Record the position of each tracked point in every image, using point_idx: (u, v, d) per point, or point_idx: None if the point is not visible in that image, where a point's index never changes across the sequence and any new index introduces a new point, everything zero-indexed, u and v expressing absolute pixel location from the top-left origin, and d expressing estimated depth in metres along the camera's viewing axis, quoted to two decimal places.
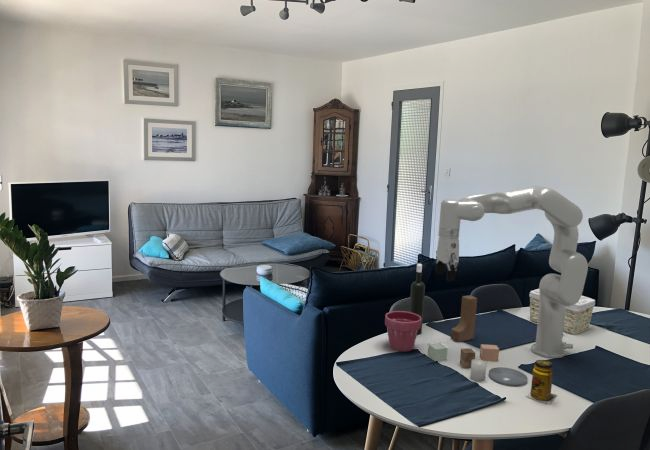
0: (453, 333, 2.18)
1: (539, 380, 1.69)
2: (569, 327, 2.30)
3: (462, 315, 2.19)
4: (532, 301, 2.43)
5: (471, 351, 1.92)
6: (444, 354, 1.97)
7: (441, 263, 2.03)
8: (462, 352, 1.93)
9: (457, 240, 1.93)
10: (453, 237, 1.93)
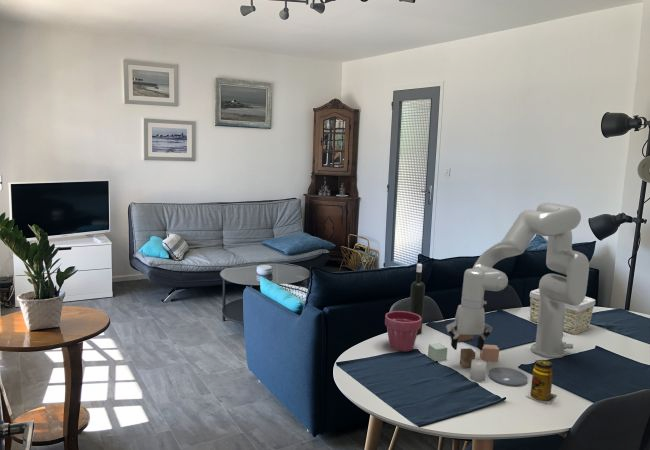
0: None
1: (539, 380, 1.69)
2: (570, 327, 2.31)
3: None
4: (532, 301, 2.43)
5: (471, 351, 1.92)
6: (444, 354, 1.97)
7: None
8: (462, 352, 1.93)
9: None
10: None
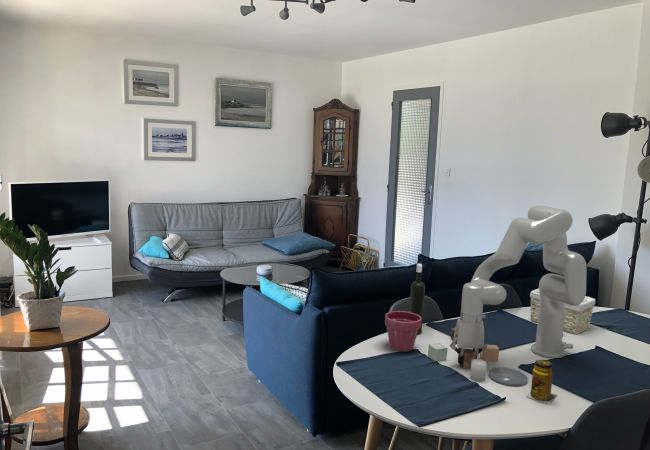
0: (453, 333, 2.18)
1: (539, 380, 1.69)
2: (571, 327, 2.31)
3: None
4: (533, 301, 2.43)
5: (471, 351, 1.92)
6: (444, 354, 1.97)
7: None
8: None
9: None
10: None
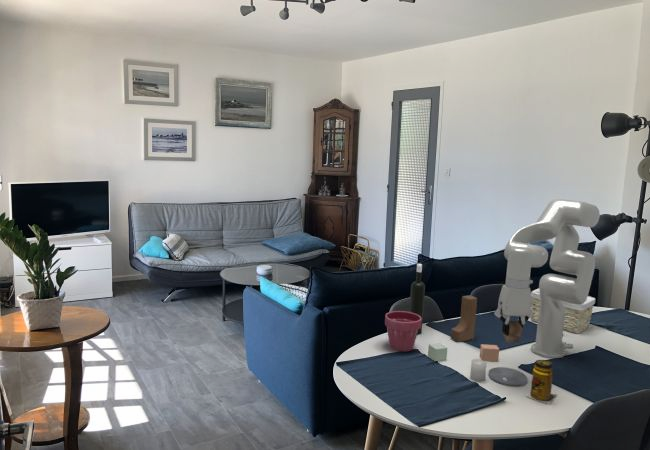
0: (453, 333, 2.18)
1: (539, 380, 1.69)
2: (573, 326, 2.32)
3: (462, 315, 2.19)
4: (534, 301, 2.43)
5: (518, 326, 1.80)
6: (444, 354, 1.97)
7: None
8: None
9: None
10: None
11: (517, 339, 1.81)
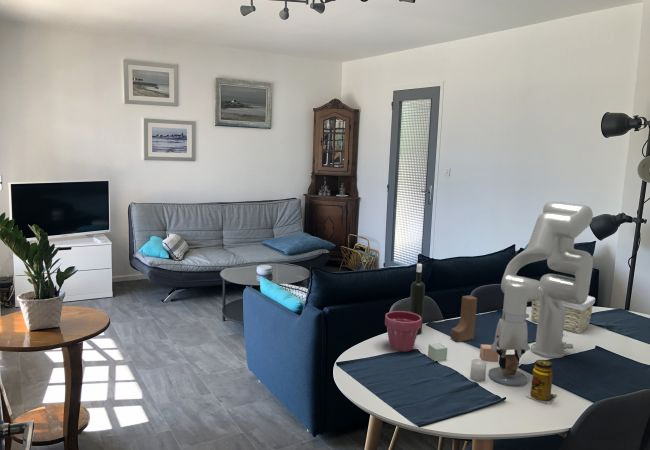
0: (453, 333, 2.18)
1: (539, 380, 1.69)
2: (574, 326, 2.32)
3: (462, 315, 2.19)
4: (534, 301, 2.43)
5: (514, 360, 1.82)
6: (444, 354, 1.97)
7: None
8: None
9: None
10: None
11: (513, 372, 1.83)
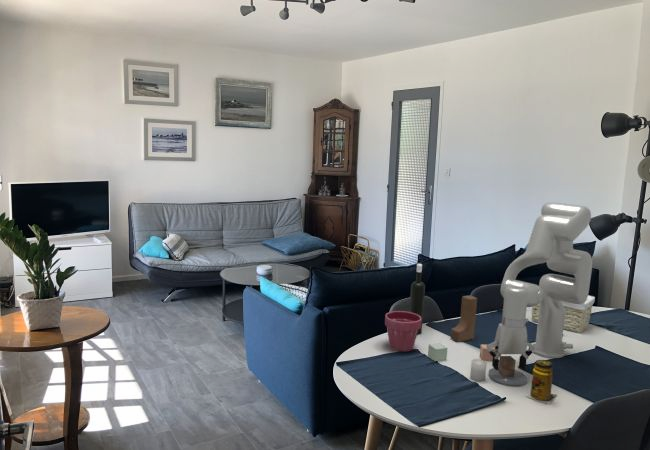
0: (453, 333, 2.18)
1: (539, 380, 1.69)
2: (575, 326, 2.33)
3: (462, 315, 2.19)
4: None
5: (511, 359, 1.84)
6: (444, 354, 1.97)
7: None
8: (501, 360, 1.85)
9: None
10: None
11: (512, 373, 1.84)
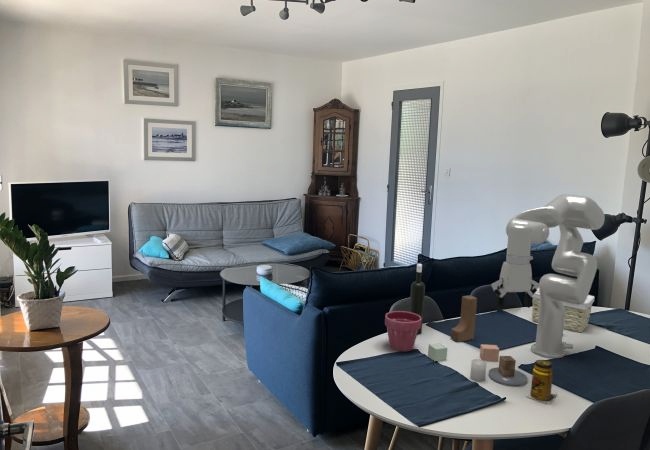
0: (453, 333, 2.18)
1: (539, 380, 1.69)
2: (576, 325, 2.33)
3: (462, 315, 2.19)
4: (535, 302, 2.43)
5: (511, 359, 1.84)
6: (444, 354, 1.97)
7: None
8: (501, 360, 1.85)
9: None
10: None
11: (512, 373, 1.84)
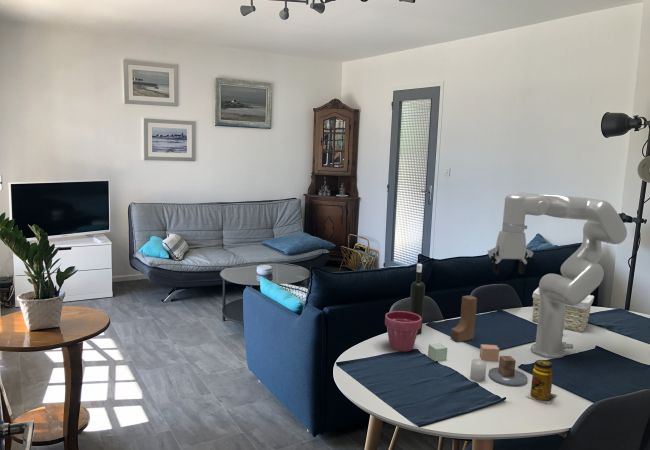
0: (453, 333, 2.18)
1: (539, 380, 1.69)
2: (577, 325, 2.34)
3: (462, 315, 2.19)
4: (536, 302, 2.42)
5: (511, 359, 1.84)
6: (444, 354, 1.97)
7: None
8: (501, 360, 1.85)
9: None
10: None
11: (512, 373, 1.84)
